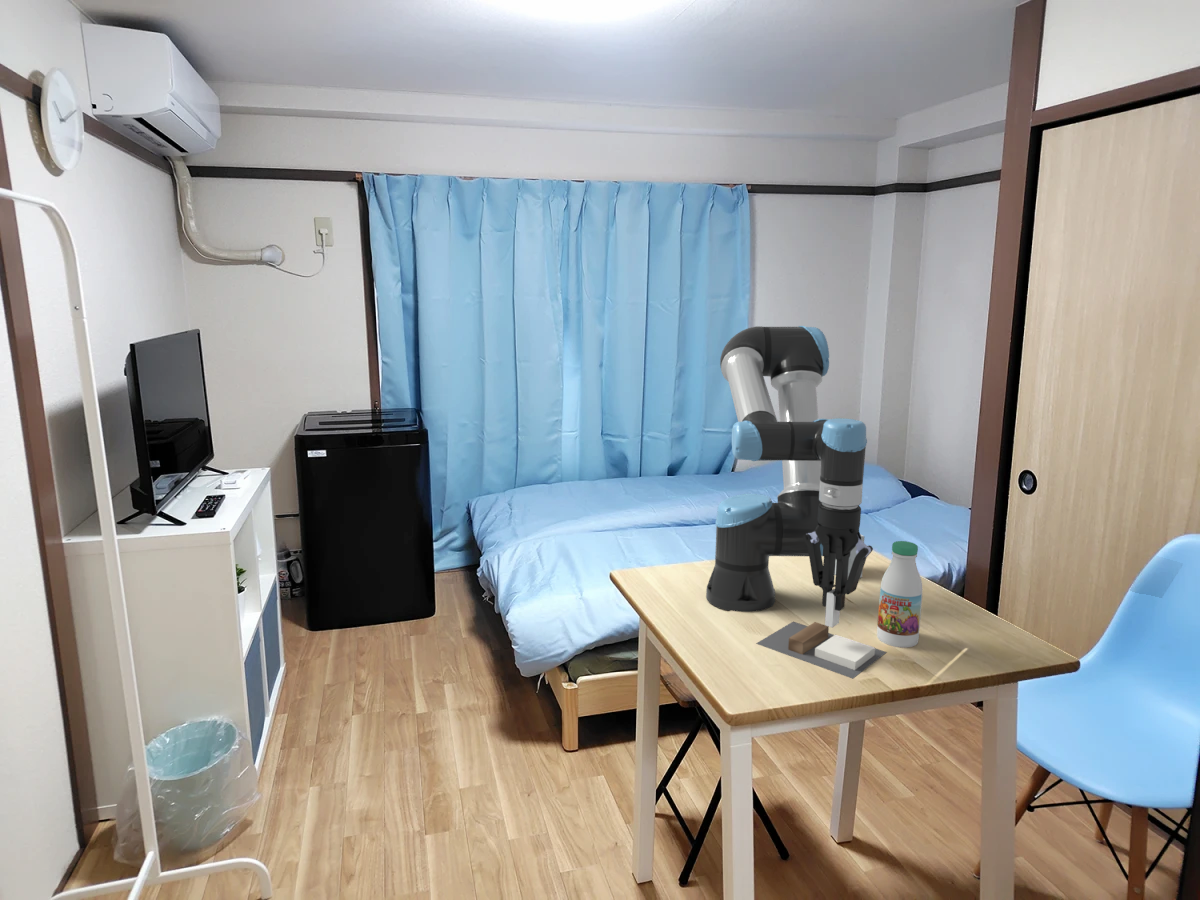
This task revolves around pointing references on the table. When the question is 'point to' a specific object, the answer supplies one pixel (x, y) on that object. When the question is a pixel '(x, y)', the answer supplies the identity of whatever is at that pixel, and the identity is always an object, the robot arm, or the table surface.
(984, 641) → the table surface
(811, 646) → the block
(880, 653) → the mat
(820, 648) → the tile
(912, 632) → the milk bottle
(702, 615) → the table surface
